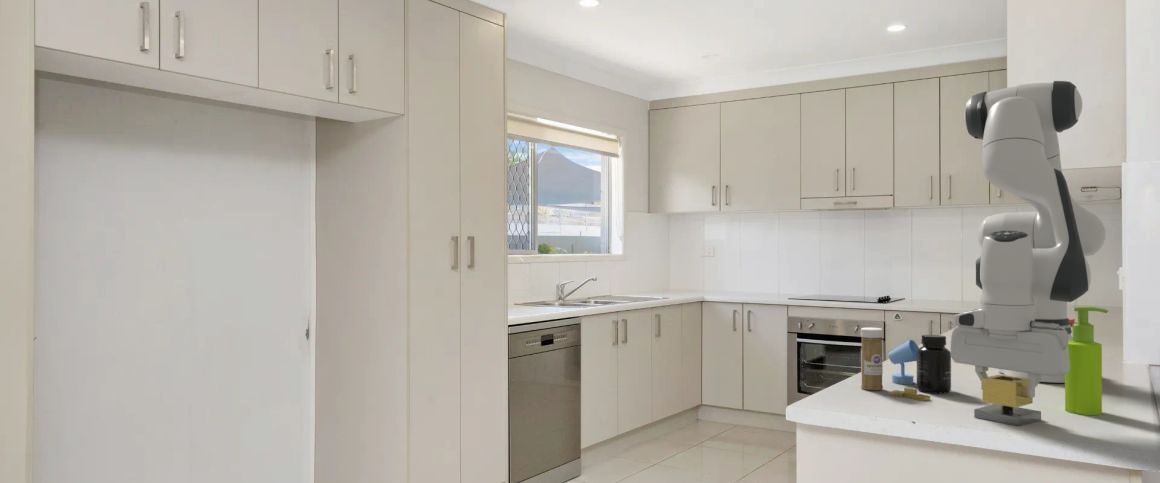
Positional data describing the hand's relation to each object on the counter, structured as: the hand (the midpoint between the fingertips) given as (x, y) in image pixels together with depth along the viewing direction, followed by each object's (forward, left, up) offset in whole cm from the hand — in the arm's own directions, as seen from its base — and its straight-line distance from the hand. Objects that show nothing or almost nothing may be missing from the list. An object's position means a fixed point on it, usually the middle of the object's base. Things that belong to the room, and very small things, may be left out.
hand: (1007, 393), depth 142 cm
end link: (0, 0, -2) cm, 2 cm away
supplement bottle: (-12, -22, -5) cm, 25 cm away
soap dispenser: (-17, +6, -5) cm, 19 cm away
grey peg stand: (0, 0, -4) cm, 5 cm away
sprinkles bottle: (-3, -31, -5) cm, 32 cm away
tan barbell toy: (-2, -21, -4) cm, 22 cm away
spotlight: (-15, -31, -5) cm, 35 cm away
